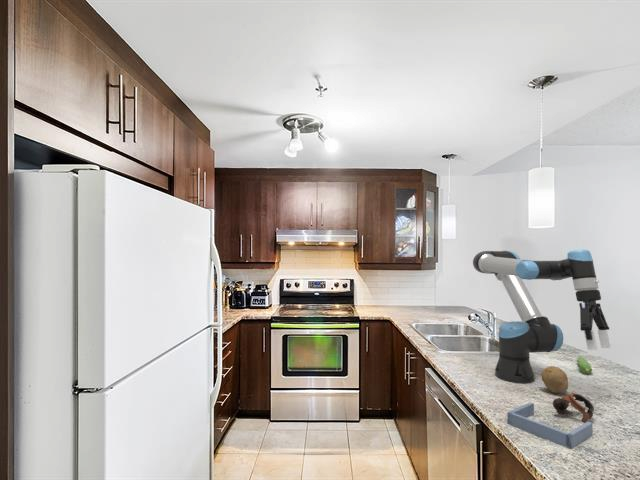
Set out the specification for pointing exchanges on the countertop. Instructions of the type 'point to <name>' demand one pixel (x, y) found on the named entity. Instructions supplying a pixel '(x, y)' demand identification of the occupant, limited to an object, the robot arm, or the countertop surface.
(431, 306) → the countertop surface
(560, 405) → the brown curved ring piece
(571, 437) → the blue-grey u-shaped frame
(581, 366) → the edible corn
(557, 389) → the natural sponge
